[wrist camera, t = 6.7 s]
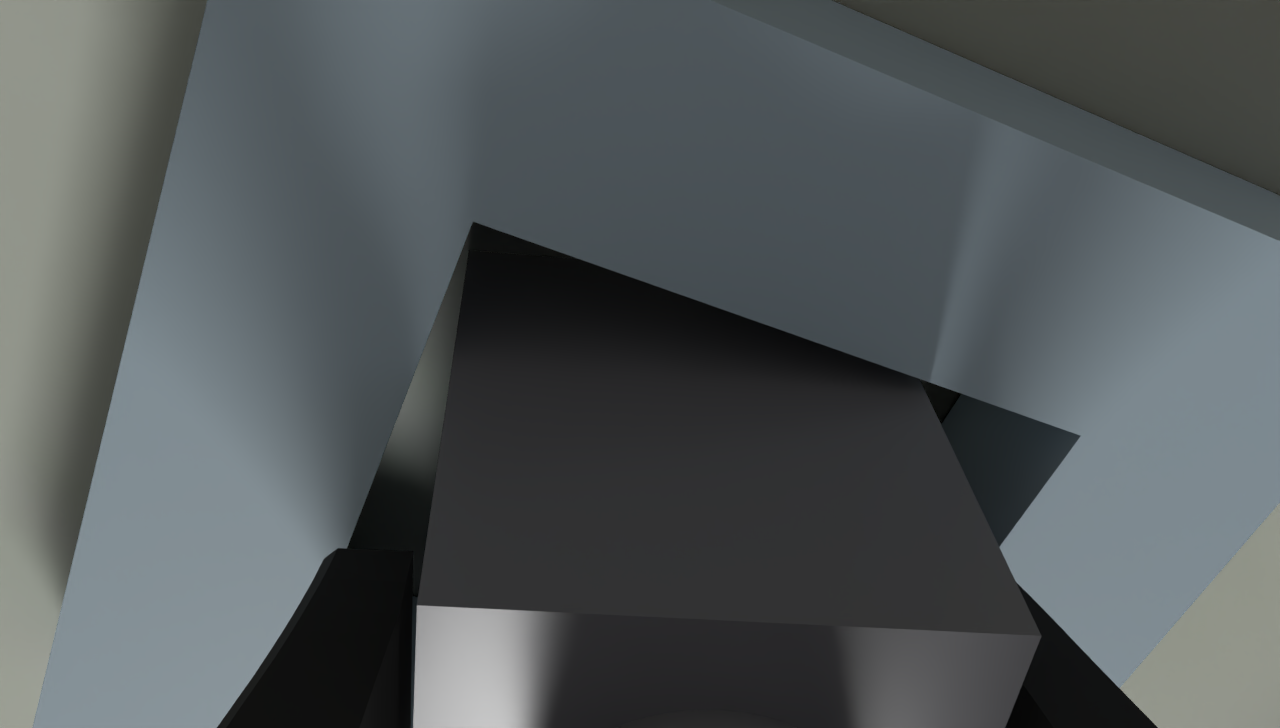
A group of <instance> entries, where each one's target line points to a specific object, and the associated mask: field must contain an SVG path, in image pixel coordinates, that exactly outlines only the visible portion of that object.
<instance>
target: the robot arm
mask: <svg viewBox="0 0 1280 728" xmlns="http://www.w3.org/2000/svg"><path fill="white" fill-rule="evenodd" d="M1016 583H1017V582H1016ZM1017 585H1018V587H1019V590H1020V592H1021V594H1022V596H1023V598H1024V600H1025V602H1026V604H1027V606H1028V609H1029V611H1030V613H1031V615H1032V617H1033V619H1034V621H1035V623H1036V625H1037V627H1038V630H1039V632H1040V634H1041V639H1040V641H1039V644H1038V646H1037V649H1036V651H1035V654H1034V656H1033V659H1032V661H1031V664H1030V666H1029V669H1028V671H1027V674H1026V676H1025V679H1024V681H1023V684H1022V686H1021V689H1020V691H1019V694H1018V697H1017V699H1016V702H1015V704H1014V707H1013V709H1012V712H1011V714H1010V717H1009V719H1008V722H1007V724H1006V727H1005V728H1158V727H1157V726H1156V725H1155V724H1154V723H1153V722H1152V721H1151V720H1150V719H1149V718H1148V717H1147V716H1146V715H1145V714H1144V713H1143V712H1142V711H1141V710H1140V709H1139V708H1138V707H1137V706H1136V705H1135V704H1134V703H1133V702H1132V701H1131V700H1130V699H1129V698H1128V697H1127V696H1126V695H1125V694H1124V693H1123V692H1122V691H1121V690H1120V689H1119V688H1118V686H1117V685H1116V684H1115V683H1114V682H1113V681H1112V680H1111V679H1110V678H1109V677H1108V676H1107V675H1106V674H1105V673H1104V672H1103V671H1102V670H1101V669H1100V668H1099V667H1098V666H1097V665H1096V664H1095V663H1094V662H1093V661H1092V660H1091V658H1090V657H1089V656H1088V655H1087V654H1086V653H1085V652H1084V651H1083V650H1082V649H1081V648H1080V647H1079V646H1078V645H1077V644H1076V643H1075V642H1074V641H1073V640H1072V639H1071V638H1070V637H1069V635H1068V634H1067V633H1066V632H1065V631H1064V630H1063V629H1062V628H1061V627H1060V626H1059V625H1058V624H1057V623H1056V622H1055V621H1054V620H1053V619H1052V618H1051V617H1050V616H1049V615H1048V614H1047V613H1046V612H1045V611H1044V609H1043V608H1042V607H1041V606H1040V605H1039V604H1038V603H1037V602H1036V601H1035V600H1034V599H1033V598H1032V597H1031V596H1030V595H1029V594H1028V593H1027V592H1026V591H1025V590H1024V589H1023V588H1022V587H1021V586H1020V585H1019V584H1018V583H1017ZM412 588H413V551H392V550H369V549H346V548H337V549H336V550H335V551H333V552H332V553H331V554H329V555H328V556H327V557H325V558H324V559H323V561H322V563H321V565H320V567H319V569H318V571H317V573H316V575H315V577H314V579H313V581H312V583H311V584H310V586H309V588H308V590H307V591H306V593H305V595H304V597H303V598H302V600H301V602H300V604H299V605H298V607H297V609H296V610H295V612H294V614H293V615H292V617H291V619H290V620H289V622H288V624H287V625H286V627H285V628H284V630H283V632H282V633H281V635H280V636H279V638H278V639H277V641H276V642H275V644H274V646H273V647H272V649H271V650H270V652H269V653H268V655H267V656H266V658H265V659H264V661H263V662H262V664H261V665H260V667H259V669H258V670H257V672H256V673H255V675H254V676H253V677H252V679H251V680H250V682H249V683H248V684H247V686H246V687H245V689H244V690H243V691H242V693H241V694H240V696H239V697H238V699H237V700H236V701H235V703H234V704H233V706H232V707H231V708H230V710H229V711H228V713H227V714H226V715H225V717H224V718H223V720H222V721H221V722H220V724H219V725H218V727H217V728H411V672H412Z"/></svg>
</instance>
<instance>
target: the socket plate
mask: <svg viewBox="0 0 1280 728" xmlns="http://www.w3.org/2000/svg"><path fill="white" fill-rule="evenodd" d="M473 222H476V223H478V224H481V225H484V226H487V227H490V228H493V229H495V230H498V231H501V232H504V233H507V234H510V235H512V236H515V237H518V238H521V239H524V240H527V241H529V242H532V243H535V244H538V245H541V246H544V247H547V248H549V249H552V250H555V251H558V252H561V253H564V254H566V255H569V256H572V257H575V258H578V259H581V260H583V261H586V262H589V263H592V264H595V265H598V266H600V267H603V268H606V269H609V270H612V271H615V272H618V273H620V274H623V275H626V276H629V277H632V278H635V279H637V280H640V281H643V282H646V283H649V284H652V285H654V286H657V287H660V288H663V289H666V290H669V291H671V292H674V293H677V294H680V295H683V296H686V297H688V298H691V299H694V300H697V301H700V302H703V303H706V304H708V305H711V306H714V307H717V308H720V309H723V310H725V311H728V312H731V313H734V314H737V315H740V316H742V317H745V318H748V319H751V320H754V321H757V322H759V323H762V324H765V325H768V326H771V327H774V328H776V329H779V330H782V331H785V332H788V333H791V334H794V335H796V336H799V337H802V338H805V339H808V340H811V341H813V342H816V343H819V344H822V345H825V346H828V347H830V348H833V349H836V350H839V351H842V352H845V353H847V354H850V355H853V356H856V357H859V358H862V359H864V360H867V361H870V362H873V363H876V364H879V365H882V366H884V367H887V368H890V369H893V370H896V371H899V372H901V373H904V374H907V375H910V376H913V377H916V378H918V379H921V380H924V381H927V382H930V383H933V384H935V385H938V386H941V387H944V388H947V389H950V390H952V391H955V392H958V393H961V395H960V397H959V398H958V400H957V401H956V403H955V404H954V406H953V407H952V409H951V411H950V412H949V414H948V415H947V417H946V418H945V420H944V421H943V423H942V424H941V426H942V428H943V430H944V432H945V434H946V436H947V438H948V440H949V442H950V444H951V447H952V449H953V451H954V453H955V455H956V457H957V459H958V461H959V463H960V466H961V468H962V470H963V472H964V474H965V476H966V478H967V480H968V482H969V484H970V487H971V489H972V491H973V493H974V495H975V497H976V499H977V501H978V503H979V505H980V508H981V510H982V512H983V514H984V516H985V518H986V520H987V522H988V524H989V526H990V529H991V531H992V533H993V535H994V537H995V539H996V541H997V543H998V545H999V548H1000V550H1001V552H1002V554H1003V556H1004V558H1005V560H1006V562H1007V564H1008V566H1009V569H1010V571H1011V573H1012V575H1013V577H1014V579H1015V581H1016V582H1017V583H1018V584H1019V585H1020V586H1021V587H1022V588H1023V589H1024V590H1025V591H1026V592H1027V593H1028V594H1029V595H1030V596H1031V597H1032V598H1033V599H1034V600H1035V601H1036V602H1037V603H1038V604H1039V605H1040V606H1041V607H1042V608H1043V609H1044V611H1045V612H1046V613H1047V614H1048V615H1049V616H1050V617H1051V618H1052V619H1053V620H1054V621H1055V622H1056V623H1057V624H1058V625H1059V626H1060V627H1061V628H1062V629H1063V630H1064V631H1065V632H1066V633H1067V634H1068V635H1069V637H1070V638H1071V639H1072V640H1073V641H1074V642H1075V643H1076V644H1077V645H1078V646H1079V647H1080V648H1081V649H1082V650H1083V651H1084V652H1085V653H1086V654H1087V655H1088V656H1089V657H1090V658H1091V660H1092V661H1093V662H1094V663H1095V664H1096V665H1097V666H1098V667H1099V668H1100V669H1101V670H1102V671H1103V672H1104V673H1105V674H1106V675H1107V676H1108V677H1109V678H1110V679H1111V680H1112V681H1113V682H1114V683H1115V684H1116V685H1117V686H1118V688H1120V687H1121V686H1122V685H1123V684H1124V682H1125V681H1126V680H1127V679H1128V678H1129V677H1130V675H1131V674H1132V673H1133V672H1134V671H1135V670H1136V668H1137V667H1138V666H1139V665H1140V664H1141V663H1142V662H1143V660H1144V659H1145V658H1146V657H1147V656H1148V655H1149V653H1150V652H1151V651H1152V650H1153V649H1154V648H1155V646H1156V645H1157V644H1158V643H1159V642H1160V641H1161V639H1162V638H1163V637H1164V636H1165V635H1166V634H1167V633H1168V631H1169V630H1170V629H1171V628H1172V627H1173V626H1174V624H1175V623H1176V622H1177V621H1178V620H1179V619H1180V617H1181V616H1182V615H1183V614H1184V613H1185V612H1186V611H1187V609H1188V608H1189V607H1190V606H1191V605H1192V604H1193V602H1194V601H1195V600H1196V599H1197V598H1198V597H1199V595H1200V594H1201V593H1202V592H1203V591H1204V590H1205V588H1206V587H1207V586H1208V585H1209V584H1210V583H1211V582H1212V580H1213V579H1214V578H1215V577H1216V576H1217V575H1218V573H1219V572H1220V571H1221V570H1222V569H1223V568H1224V566H1225V565H1226V564H1227V563H1228V562H1229V561H1230V560H1231V558H1232V557H1233V556H1234V555H1235V554H1236V553H1237V551H1238V550H1239V549H1240V548H1241V547H1242V546H1243V544H1244V543H1245V542H1246V541H1247V540H1248V539H1249V537H1250V536H1251V535H1252V534H1253V533H1254V532H1255V531H1256V529H1257V528H1258V527H1259V526H1260V525H1261V524H1262V522H1263V521H1264V520H1265V519H1266V518H1267V517H1268V515H1269V514H1270V513H1271V512H1272V511H1273V510H1274V509H1275V507H1276V506H1277V505H1278V504H1279V503H1280V195H1278V194H1275V193H1273V192H1271V191H1268V190H1266V189H1264V188H1261V187H1259V186H1257V185H1255V184H1252V183H1250V182H1248V181H1245V180H1243V179H1241V178H1239V177H1236V176H1234V175H1232V174H1229V173H1227V172H1225V171H1222V170H1220V169H1218V168H1216V167H1213V166H1211V165H1209V164H1206V163H1204V162H1202V161H1199V160H1197V159H1195V158H1193V157H1190V156H1188V155H1186V154H1183V153H1181V152H1179V151H1177V150H1174V149H1172V148H1170V147H1167V146H1165V145H1163V144H1160V143H1158V142H1156V141H1154V140H1151V139H1149V138H1147V137H1144V136H1142V135H1140V134H1137V133H1135V132H1133V131H1131V130H1128V129H1126V128H1124V127H1121V126H1119V125H1117V124H1115V123H1112V122H1110V121H1108V120H1105V119H1103V118H1101V117H1098V116H1096V115H1094V114H1092V113H1089V112H1087V111H1085V110H1082V109H1080V108H1078V107H1075V106H1073V105H1071V104H1069V103H1066V102H1064V101H1062V100H1059V99H1057V98H1055V97H1053V96H1050V95H1048V94H1046V93H1043V92H1041V91H1039V90H1036V89H1034V88H1032V87H1030V86H1027V85H1025V84H1023V83H1020V82H1018V81H1016V80H1013V79H1011V78H1009V77H1007V76H1004V75H1002V74H1000V73H997V72H995V71H993V70H991V69H988V68H986V67H984V66H981V65H979V64H977V63H974V62H972V61H970V60H968V59H965V58H963V57H961V56H958V55H956V54H954V53H951V52H949V51H947V50H945V49H942V48H940V47H938V46H935V45H933V44H931V43H929V42H926V41H924V40H922V39H919V38H917V37H915V36H912V35H910V34H908V33H906V32H903V31H901V30H899V29H896V28H894V27H892V26H889V25H887V24H885V23H883V22H880V21H878V20H876V19H873V18H871V17H869V16H867V15H864V14H862V13H860V12H857V11H855V10H853V9H850V8H848V7H846V6H844V5H841V4H839V3H837V2H834V1H832V0H207V4H206V9H205V13H204V17H203V21H202V25H201V29H200V34H199V38H198V42H197V46H196V50H195V54H194V58H193V63H192V67H191V71H190V75H189V79H188V83H187V88H186V92H185V96H184V100H183V104H182V108H181V112H180V117H179V121H178V125H177V129H176V133H175V137H174V142H173V146H172V150H171V154H170V158H169V162H168V167H167V171H166V175H165V179H164V183H163V187H162V191H161V196H160V200H159V204H158V208H157V212H156V216H155V221H154V225H153V229H152V233H151V237H150V241H149V246H148V250H147V254H146V258H145V262H144V266H143V270H142V275H141V279H140V283H139V287H138V291H137V295H136V300H135V304H134V308H133V312H132V316H131V320H130V324H129V329H128V333H127V337H126V341H125V345H124V349H123V354H122V358H121V362H120V366H119V370H118V374H117V379H116V383H115V387H114V391H113V395H112V399H111V403H110V408H109V412H108V416H107V420H106V424H105V428H104V433H103V437H102V441H101V445H100V449H99V453H98V458H97V462H96V466H95V470H94V474H93V478H92V482H91V487H90V491H89V495H88V499H87V503H86V507H85V512H84V516H83V520H82V524H81V528H80V532H79V537H78V541H77V545H76V549H75V553H74V557H73V561H72V566H71V570H70V574H69V578H68V582H67V586H66V591H65V595H64V599H63V603H62V607H61V611H60V615H59V620H58V624H57V628H56V632H55V636H54V640H53V645H52V649H51V653H50V657H49V661H48V665H47V670H46V674H45V678H44V682H43V686H42V690H41V694H40V699H39V703H38V707H37V711H36V715H35V719H34V724H33V728H217V727H218V725H219V724H220V722H221V721H222V720H223V718H224V717H225V715H226V714H227V713H228V711H229V710H230V708H231V707H232V706H233V704H234V703H235V701H236V700H237V699H238V697H239V696H240V694H241V693H242V691H243V690H244V689H245V687H246V686H247V684H248V683H249V682H250V680H251V679H252V677H253V676H254V675H255V673H256V672H257V670H258V669H259V667H260V665H261V664H262V662H263V661H264V659H265V658H266V656H267V655H268V653H269V652H270V650H271V649H272V647H273V646H274V644H275V642H276V641H277V639H278V638H279V636H280V635H281V633H282V632H283V630H284V628H285V627H286V625H287V624H288V622H289V620H290V619H291V617H292V615H293V614H294V612H295V610H296V609H297V607H298V605H299V604H300V602H301V600H302V598H303V597H304V595H305V593H306V591H307V590H308V588H309V586H310V584H311V583H312V581H313V579H314V577H315V575H316V573H317V571H318V569H319V567H320V565H321V563H322V561H323V559H324V558H325V557H327V556H328V555H329V554H331V553H332V552H333V551H335V550H336V549H337V548H346V549H347V547H348V544H349V542H350V539H351V536H352V534H353V531H354V529H355V526H356V524H357V521H358V518H359V516H360V513H361V511H362V508H363V505H364V503H365V500H366V498H367V495H368V492H369V490H370V487H371V485H372V482H373V479H374V477H375V474H376V472H377V469H378V466H379V464H380V461H381V459H382V456H383V453H384V451H385V448H386V446H387V443H388V441H389V438H390V435H391V433H392V430H393V428H394V425H395V422H396V420H397V417H398V415H399V412H400V409H401V407H402V404H403V402H404V399H405V396H406V394H407V391H408V389H409V386H410V383H411V381H412V378H413V376H414V373H415V370H416V368H417V365H418V363H419V360H420V358H421V355H422V352H423V350H424V347H425V345H426V342H427V339H428V337H429V334H430V332H431V329H432V326H433V324H434V321H435V319H436V316H437V313H438V311H439V308H440V306H441V303H442V300H443V298H444V295H445V293H446V290H447V287H448V285H449V282H450V280H451V277H452V275H453V272H454V269H455V267H456V264H457V262H458V259H459V256H460V254H461V251H462V249H463V246H464V243H465V241H466V238H467V236H468V233H469V230H470V228H471V225H472V223H473ZM417 601H418V597H414V596H412V672H411V728H413V717H414V684H415V651H416V618H417Z"/></svg>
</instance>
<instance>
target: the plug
mask: <svg viewBox="0 0 1280 728" xmlns="http://www.w3.org/2000/svg"><path fill="white" fill-rule="evenodd" d="M1040 639H1041V634H1040V632H1039V630H1038V627H1037V625H1036V623H1035V621H1034V619H1033V617H1032V615H1031V613H1030V611H1029V609H1028V606H1027V604H1026V602H1025V600H1024V598H1023V596H1022V594H1021V592H1020V590H1019V587H1018V585H1017V583H1016V581H1015V579H1014V577H1013V575H1012V573H1011V571H1010V569H1009V566H1008V564H1007V562H1006V560H1005V558H1004V556H1003V554H1002V552H1001V550H1000V548H999V545H998V543H997V541H996V539H995V537H994V535H993V533H992V531H991V529H990V526H989V524H988V522H987V520H986V518H985V516H984V514H983V512H982V510H981V508H980V505H979V503H978V501H977V499H976V497H975V495H974V493H973V491H972V489H971V487H970V484H969V482H968V480H967V478H966V476H965V474H964V472H963V470H962V468H961V466H960V463H959V461H958V459H957V457H956V455H955V453H954V451H953V449H952V447H951V444H950V442H949V440H948V438H947V436H946V434H945V432H944V430H943V428H942V426H941V423H940V421H939V419H938V417H937V415H936V413H935V411H934V409H933V407H932V405H931V402H930V400H929V398H928V396H927V394H926V392H925V390H924V388H923V386H922V383H921V381H920V379H918V378H916V377H913V376H910V375H907V374H904V373H901V372H899V371H896V370H893V369H890V368H887V367H884V366H882V365H879V364H876V363H873V362H870V361H867V360H864V359H862V358H859V357H856V356H853V355H850V354H847V353H845V352H842V351H839V350H836V349H833V348H830V347H828V346H825V345H822V344H819V343H816V342H813V341H811V340H808V339H805V338H802V337H799V336H796V335H794V334H791V333H788V332H785V331H782V330H779V329H776V328H774V327H771V326H768V325H765V324H762V323H759V322H757V321H754V320H751V319H748V318H745V317H742V316H740V315H737V314H734V313H731V312H728V311H725V310H723V309H720V308H717V307H714V306H711V305H708V304H706V303H703V302H700V301H697V300H694V299H691V298H688V297H686V296H683V295H680V294H677V293H674V292H671V291H669V290H666V289H663V288H660V287H657V286H654V285H652V284H649V283H646V282H643V281H640V280H637V279H635V278H632V277H629V276H626V275H623V274H620V273H618V272H615V271H612V270H609V269H606V268H603V267H600V266H598V265H595V264H592V263H589V262H586V261H583V260H581V259H574V258H562V257H549V256H537V255H524V254H512V253H499V252H487V251H475V250H469V253H468V260H467V267H466V274H465V281H464V287H463V294H462V301H461V308H460V315H459V321H458V328H457V335H456V342H455V349H454V356H453V362H452V369H451V376H450V383H449V390H448V396H447V403H446V410H445V417H444V424H443V431H442V437H441V444H440V451H439V458H438V465H437V471H436V478H435V485H434V492H433V499H432V506H431V512H430V519H429V526H428V533H427V540H426V547H425V553H424V560H423V567H422V574H421V581H420V587H419V594H418V601H417V618H416V651H415V684H414V717H413V728H1005V727H1006V724H1007V722H1008V719H1009V717H1010V714H1011V712H1012V709H1013V707H1014V704H1015V702H1016V699H1017V697H1018V694H1019V691H1020V689H1021V686H1022V684H1023V681H1024V679H1025V676H1026V674H1027V671H1028V669H1029V666H1030V664H1031V661H1032V659H1033V656H1034V654H1035V651H1036V649H1037V646H1038V644H1039V641H1040Z"/></svg>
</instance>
